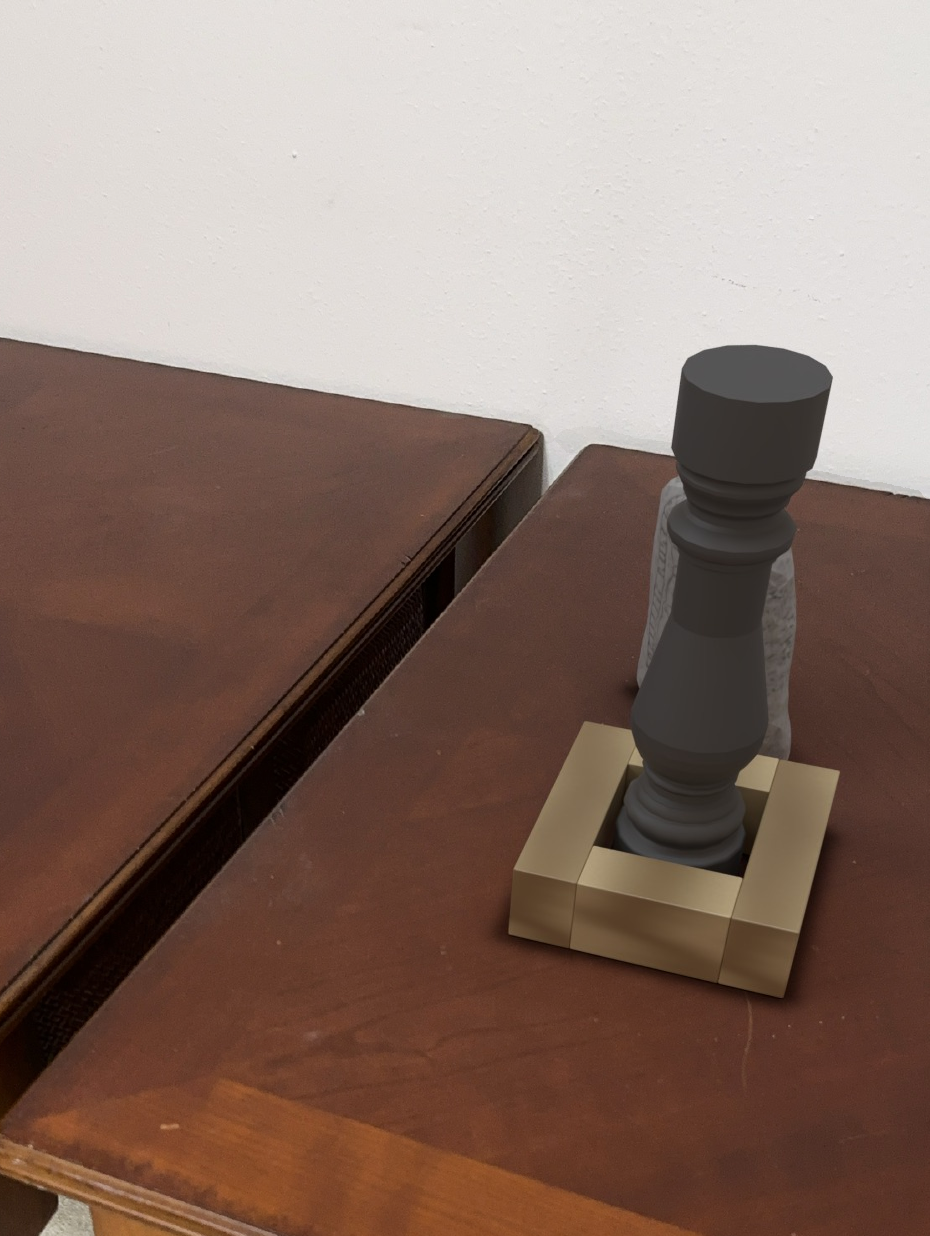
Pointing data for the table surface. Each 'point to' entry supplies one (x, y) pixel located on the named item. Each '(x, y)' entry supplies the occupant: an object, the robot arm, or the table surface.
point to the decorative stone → (774, 622)
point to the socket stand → (672, 872)
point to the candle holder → (719, 598)
